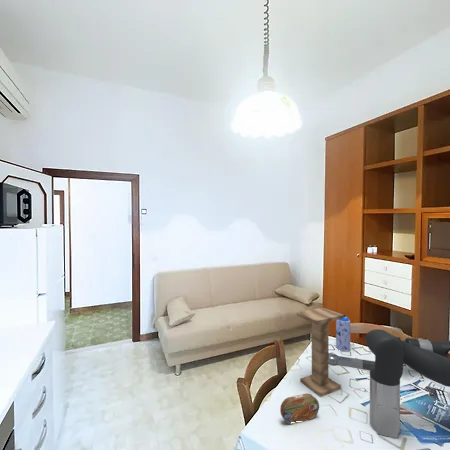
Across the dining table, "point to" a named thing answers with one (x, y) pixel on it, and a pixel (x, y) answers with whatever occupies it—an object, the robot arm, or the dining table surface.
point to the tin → (299, 408)
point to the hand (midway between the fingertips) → (380, 342)
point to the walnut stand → (320, 350)
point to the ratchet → (349, 362)
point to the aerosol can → (343, 334)
